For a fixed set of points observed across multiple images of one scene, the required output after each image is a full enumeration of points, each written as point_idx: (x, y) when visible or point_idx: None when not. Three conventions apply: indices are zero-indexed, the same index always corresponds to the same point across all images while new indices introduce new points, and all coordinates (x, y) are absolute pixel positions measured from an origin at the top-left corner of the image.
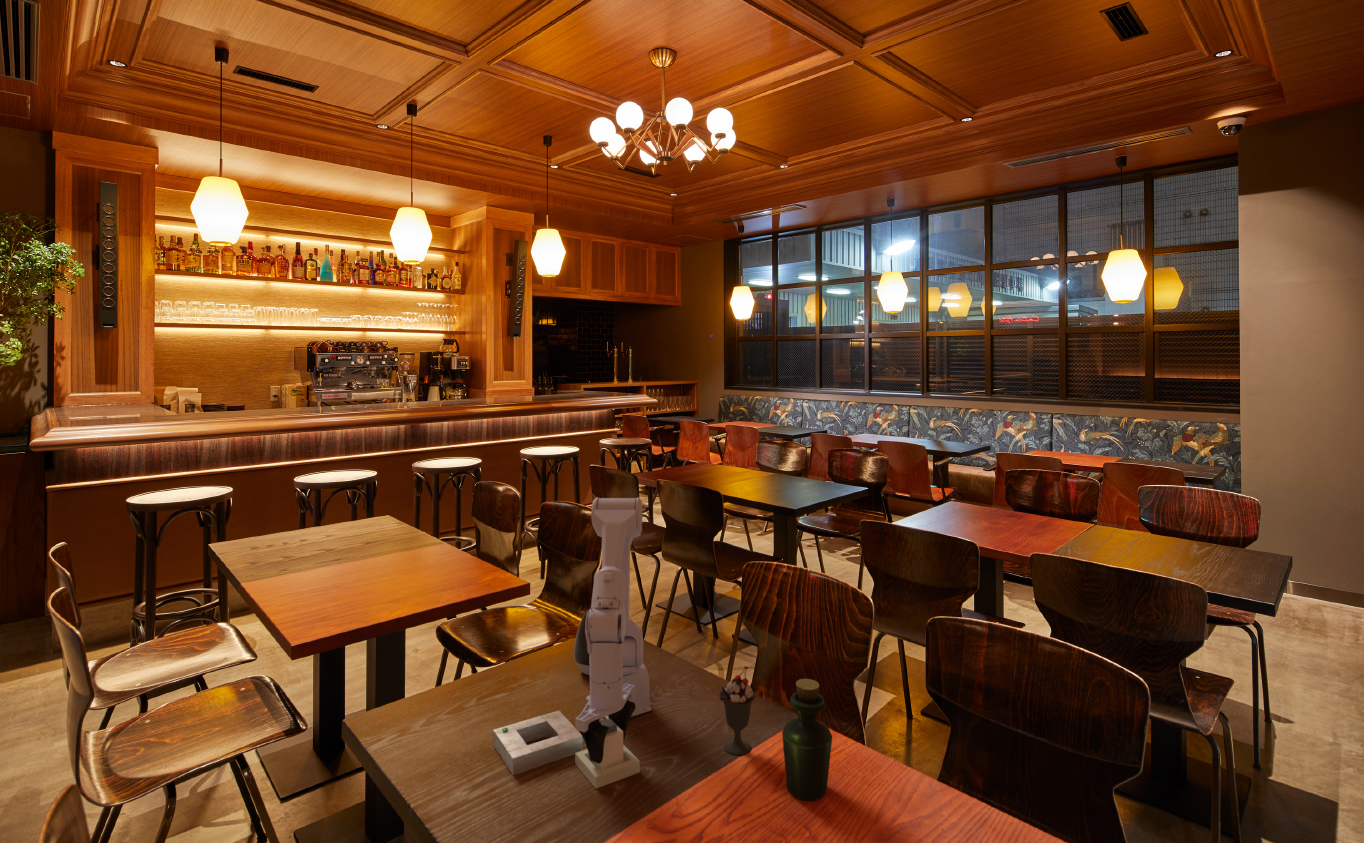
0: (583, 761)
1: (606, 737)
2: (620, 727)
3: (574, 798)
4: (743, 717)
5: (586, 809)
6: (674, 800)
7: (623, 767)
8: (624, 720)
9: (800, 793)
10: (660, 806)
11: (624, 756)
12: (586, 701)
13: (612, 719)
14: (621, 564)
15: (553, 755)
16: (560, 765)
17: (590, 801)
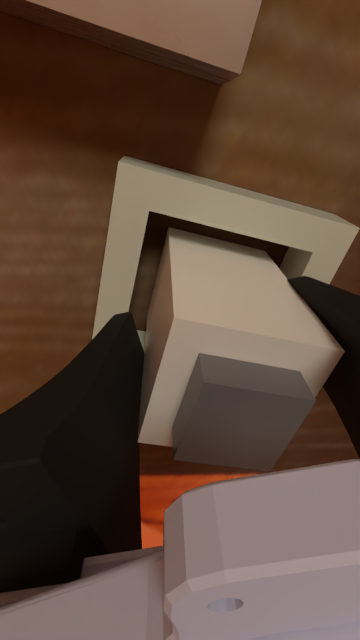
0: (108, 259)
1: (170, 445)
2: (332, 380)
3: (8, 332)
4: None
5: (19, 389)
6: (216, 479)
7: None
8: (358, 443)
9: None
10: (178, 475)
11: None
12: (166, 519)
13: (354, 355)
14: None
15: (29, 14)
16: (59, 100)
17: (47, 373)
